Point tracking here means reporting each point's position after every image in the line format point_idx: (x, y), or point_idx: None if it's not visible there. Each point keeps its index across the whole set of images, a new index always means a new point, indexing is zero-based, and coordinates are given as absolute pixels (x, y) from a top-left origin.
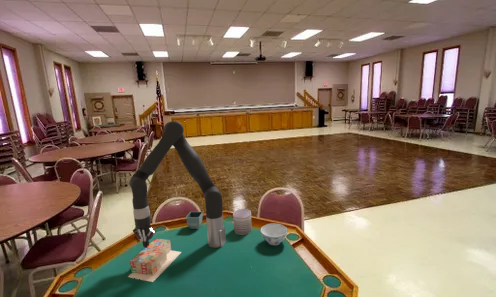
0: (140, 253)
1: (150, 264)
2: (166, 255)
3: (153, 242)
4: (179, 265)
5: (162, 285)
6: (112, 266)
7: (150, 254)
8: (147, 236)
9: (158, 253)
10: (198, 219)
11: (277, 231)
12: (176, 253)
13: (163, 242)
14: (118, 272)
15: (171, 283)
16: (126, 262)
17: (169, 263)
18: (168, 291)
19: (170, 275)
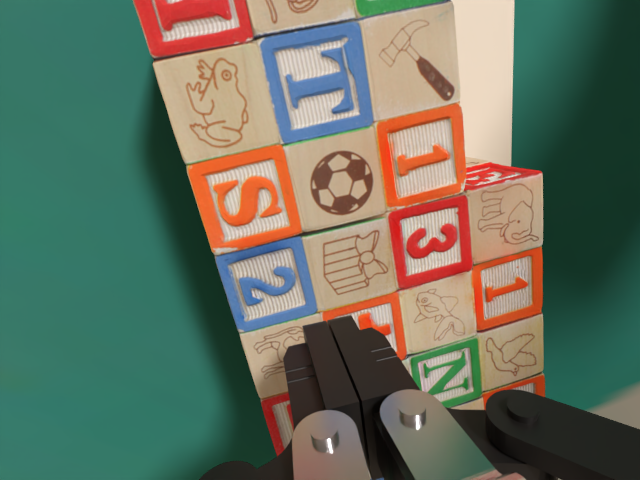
0: (279, 379)
1: None
2: (489, 165)
3: (207, 86)
4: (588, 160)
5: (576, 370)
6: (15, 439)
7: (419, 334)
8: (442, 476)
9: (491, 269)
10: None
11: None
12: (476, 9)
13: (387, 17)
14: (164, 449)
15: (621, 333)
16: (79, 346)
17: None
18: (633, 383)
19: (578, 283)
